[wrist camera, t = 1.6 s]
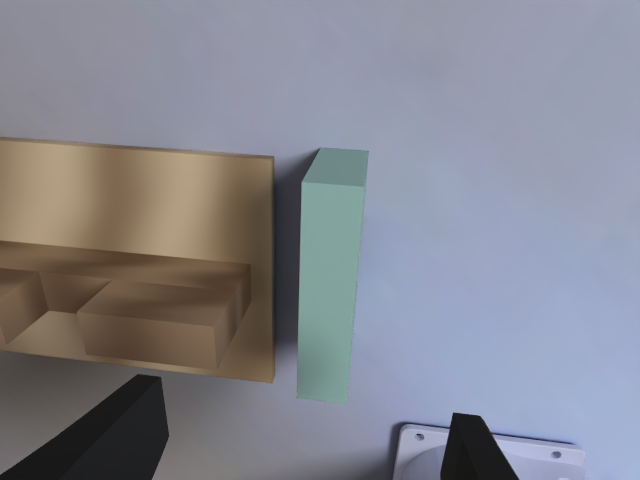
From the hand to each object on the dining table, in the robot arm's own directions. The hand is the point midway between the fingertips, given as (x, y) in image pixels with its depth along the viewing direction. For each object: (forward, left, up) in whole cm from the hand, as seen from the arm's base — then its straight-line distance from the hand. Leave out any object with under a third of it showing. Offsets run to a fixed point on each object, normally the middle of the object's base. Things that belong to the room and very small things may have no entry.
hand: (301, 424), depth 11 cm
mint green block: (0, 0, -10) cm, 10 cm away
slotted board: (+11, +2, -10) cm, 15 cm away
